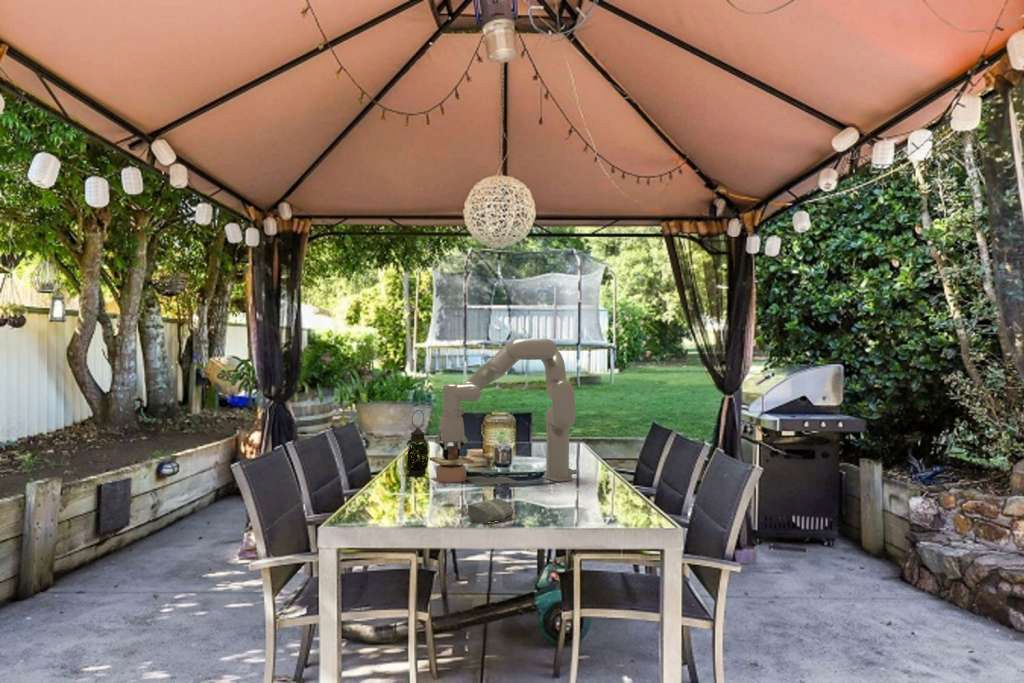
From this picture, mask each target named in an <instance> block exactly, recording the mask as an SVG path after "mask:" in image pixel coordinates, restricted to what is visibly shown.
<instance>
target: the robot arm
mask: <svg viewBox="0 0 1024 683" xmlns="http://www.w3.org/2000/svg"><path fill="white" fill-rule="evenodd" d="M563 357H564V356H563V355H562V354H561V352H560V351H559V350H558V349H557V345H556V343H555V342H554V341H553V340H551V339H549V338H537V339H536V338H533V339H532V338H529V339H528V338H514V339H510V340H509V341H508V342H507V343H506V344H504V346H502V347H501V349H499V351H497V352H496V353H495V354H494V355H493V356H492V357H491V358H490V359H489V360H488V361H487V362H485V363H484V364H483V365H482V366H481V367H480V368H479V369H478V370H476V371H475V373H473V374H472V375H471V376H470V377H469V378H468V379H467V380H466V381H465V382H464V383H462V384H459V383H446V384H444V385H443V388H442V416H441V417H440V419H439V424H438V431H437V433H438V434H437V435H438V436H437V437H436V439H435V441H434V443H436V445H438V446H440V448H441V449H442V457H444V459H446V460H447V459H448V450H447V446H449V445H448V444H449V443H454V444H455V445H454V446H456V447H458V459H459V456H461V455H460V454H461V453H460V452H461V448H462V447H463V446H464V444H466V443H467V442H468V441H469V440H468V438H467V436H466V435H465V424H464V419H463V418H464V417H462V415H464V414H465V411H464V410H463V409H462V402H466V403H467V402H468V403H474V402H477V401H478V400H480V398H481V396H482V391H483V390H484V389H485V388H486V387H487V386H488V385H489V384H491V383H494V381H497V380H499V379H500V378H502V377H503V376H504V375H505V374H506V373H507V372H509V370H510V369H511V368H512V367H513V366H514V365H516V363H518V362H519V361H522V360H524V361H529V360H530V361H537V360H540V361H541V362H542V364H543V366H544V372H545V373H544V374H545V385H546V386H545V387H546V388H545V389H546V390H545V391H546V392H545V393H546V395H547V397H548V398H549V399H550V400H551V401H552V405H551V406H549V407H548V409H547V410H546V413H545V427H546V451H545V452H546V456H545V457H546V458H545V459H546V464H545V473H546V474H543V475H542V479H543V480H546V481H549V482H553V483H554V482H555V483H556V482H557V483H560V482H562V483H563V482H570V481H572V480H573V476H572V475H579V474H580V470H579V469H574V468H573V469H572V468H570V428H571V427H572V426H574V424H575V421H576V414H577V413H576V397H575V396H576V395H575V390H574V386H573V385H572V384H571V383H570V382H569V381H568V380H567V373H566V364H565V361H564V358H563Z"/></svg>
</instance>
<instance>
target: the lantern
mask: <svg viewBox="0 0 1024 683" xmlns="http://www.w3.org/2000/svg"><path fill="white" fill-rule="evenodd" d="M416 412H421V414H422V415H423V416H422V417H423V418H422V419H423V420H422V424H421V425H420V426H415V425H414V424H415V423H414V421H413V420H411V423H412V425H413V427H414V428H415V430H413V431H412V432H410V435H411V436H410V438H409V439H408V440H407V442H406V446H407V455H406V456H407V460H406V470H407V471H408V476H409V477H413V478H416V477H417V478H421V477H425V475H427V471H426V470H427V467H428V465H429V464H428V463H429V458H430V457H429V456H428V455H429V450H428V443H427V442H428V440H427V439H426V438H425V434H426V433H425V432H424V431H422V430H421V429H420V427H422V426H423V424H424V423H425V422H424V421H425V415H424V412H423V411H422V410H420V409H417V410H415V411H414V412H413V414H412V416H411V419H413V417H414V414H415V413H416Z"/></svg>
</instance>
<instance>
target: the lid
mask: <svg viewBox="0 0 1024 683" xmlns="http://www.w3.org/2000/svg"><path fill="white" fill-rule="evenodd" d="M447 450H448V459H447V460H446V459H444V457H443V456H432V457H431V456H430V457H428V458H429V459H428V461H432V462H433V463H436V464H438V465H448V464H462V465H464V464H474V460H472V459H470V458H468V457H465V456H463V455H460V456H459V459H458V447H456V445H447Z"/></svg>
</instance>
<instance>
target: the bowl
mask: <svg viewBox="0 0 1024 683" xmlns="http://www.w3.org/2000/svg"><path fill="white" fill-rule="evenodd" d="M466 468H467V466H466V465H464V464H448V465H440V464H438V465H436V475H435V476H436V481H438V482H441V483H461V482H464V481H466V477H467V475H466V474H467V473H466V472H467V471H466V470H467V469H466Z"/></svg>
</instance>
